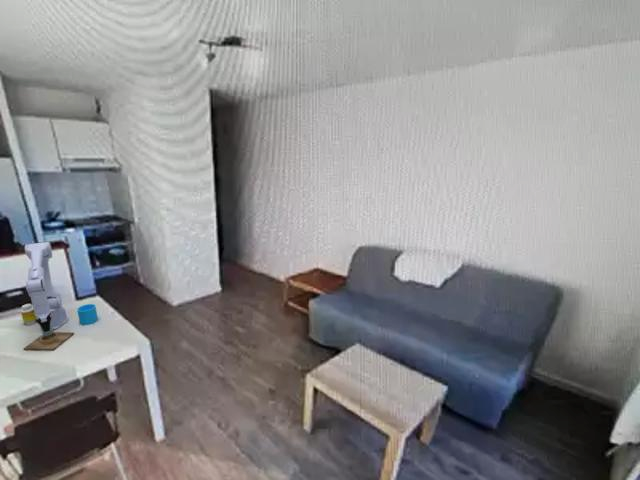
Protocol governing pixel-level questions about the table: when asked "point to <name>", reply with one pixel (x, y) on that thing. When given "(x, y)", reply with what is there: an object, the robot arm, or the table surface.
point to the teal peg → (47, 331)
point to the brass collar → (48, 341)
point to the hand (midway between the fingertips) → (46, 329)
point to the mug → (87, 314)
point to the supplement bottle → (28, 314)
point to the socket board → (52, 346)
